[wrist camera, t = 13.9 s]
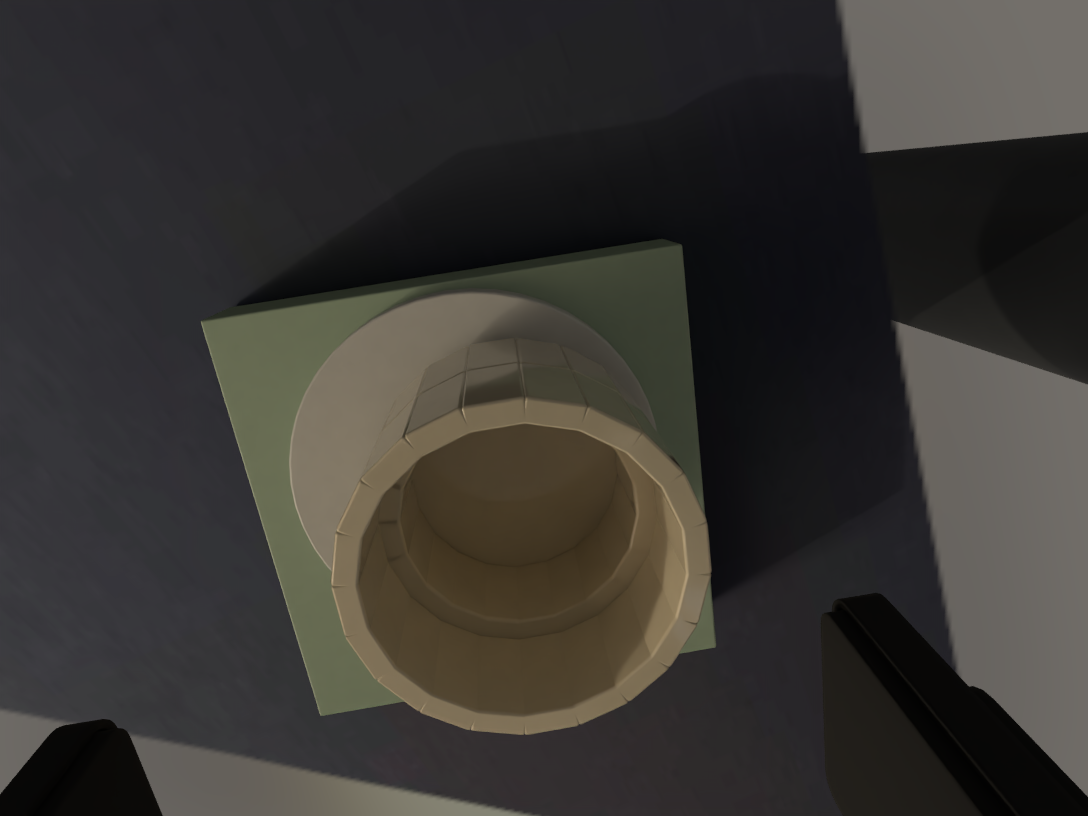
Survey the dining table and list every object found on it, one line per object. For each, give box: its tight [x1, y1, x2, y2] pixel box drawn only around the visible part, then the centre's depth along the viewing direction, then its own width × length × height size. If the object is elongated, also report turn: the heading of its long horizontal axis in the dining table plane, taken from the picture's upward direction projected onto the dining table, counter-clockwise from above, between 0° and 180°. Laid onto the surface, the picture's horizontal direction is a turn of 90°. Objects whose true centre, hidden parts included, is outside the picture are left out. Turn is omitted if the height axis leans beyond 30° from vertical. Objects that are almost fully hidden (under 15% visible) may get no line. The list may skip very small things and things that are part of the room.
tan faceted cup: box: [331, 338, 712, 735], centre depth 16 cm, size 7×7×6 cm
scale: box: [201, 239, 716, 716], centre depth 20 cm, size 12×12×3 cm
